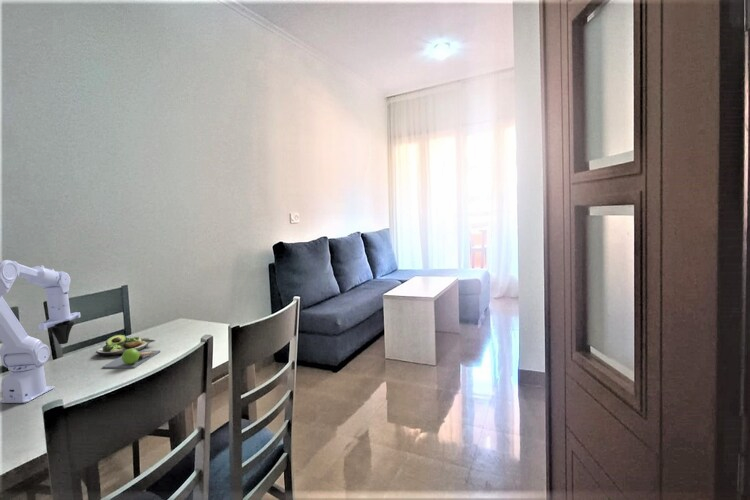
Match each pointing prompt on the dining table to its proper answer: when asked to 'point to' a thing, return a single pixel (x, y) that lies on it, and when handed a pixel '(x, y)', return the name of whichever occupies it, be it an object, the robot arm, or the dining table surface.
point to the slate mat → (120, 364)
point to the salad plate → (122, 345)
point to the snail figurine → (133, 355)
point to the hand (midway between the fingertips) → (63, 343)
